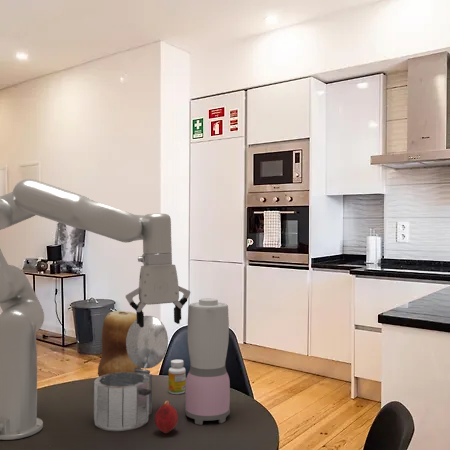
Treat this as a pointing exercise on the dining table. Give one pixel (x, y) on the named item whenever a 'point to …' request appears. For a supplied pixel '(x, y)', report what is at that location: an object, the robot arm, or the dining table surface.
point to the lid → (147, 343)
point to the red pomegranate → (166, 417)
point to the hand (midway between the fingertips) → (159, 324)
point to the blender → (208, 361)
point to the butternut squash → (116, 343)
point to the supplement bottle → (177, 377)
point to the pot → (122, 400)
